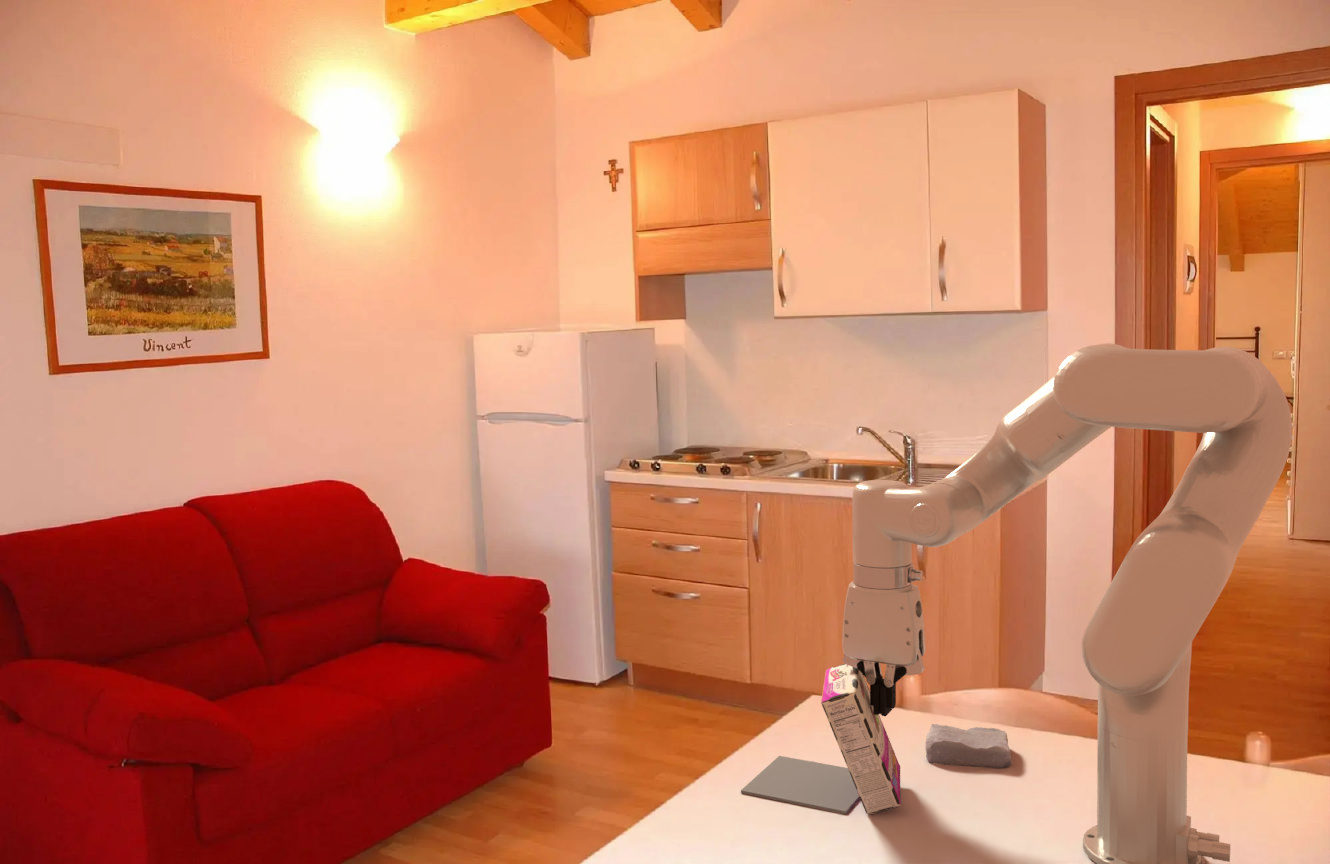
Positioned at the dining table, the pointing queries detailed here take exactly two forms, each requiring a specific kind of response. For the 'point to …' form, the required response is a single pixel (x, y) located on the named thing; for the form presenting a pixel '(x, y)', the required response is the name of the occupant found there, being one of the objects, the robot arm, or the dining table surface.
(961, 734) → the stone block
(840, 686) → the candy bar box
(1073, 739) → the dining table surface
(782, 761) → the mat
